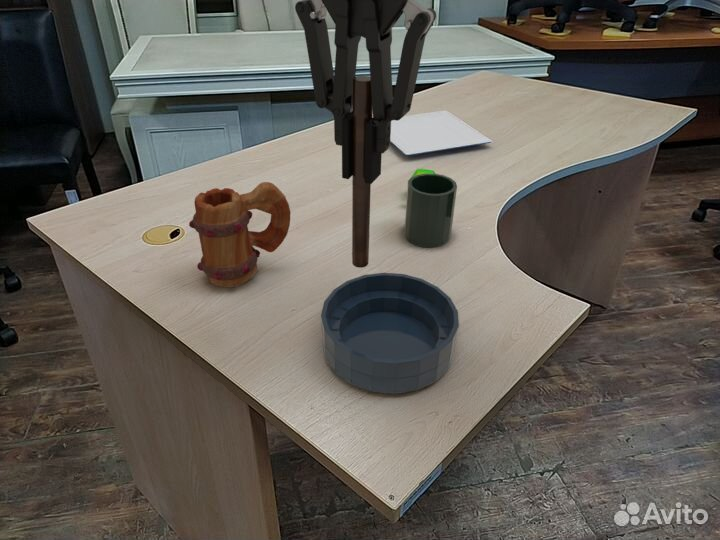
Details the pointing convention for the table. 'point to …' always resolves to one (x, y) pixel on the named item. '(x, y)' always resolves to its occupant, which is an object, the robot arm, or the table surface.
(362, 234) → the stick
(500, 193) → the table surface
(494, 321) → the table surface
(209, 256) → the mug
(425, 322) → the bowl
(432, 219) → the holder
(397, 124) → the plate
